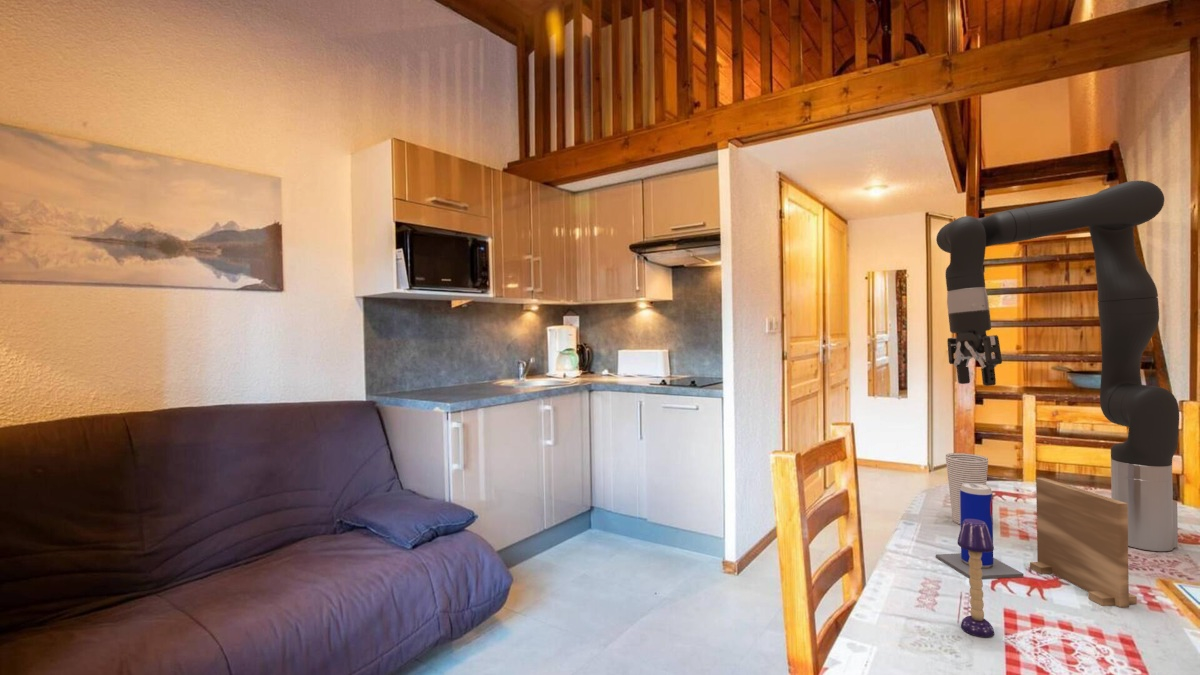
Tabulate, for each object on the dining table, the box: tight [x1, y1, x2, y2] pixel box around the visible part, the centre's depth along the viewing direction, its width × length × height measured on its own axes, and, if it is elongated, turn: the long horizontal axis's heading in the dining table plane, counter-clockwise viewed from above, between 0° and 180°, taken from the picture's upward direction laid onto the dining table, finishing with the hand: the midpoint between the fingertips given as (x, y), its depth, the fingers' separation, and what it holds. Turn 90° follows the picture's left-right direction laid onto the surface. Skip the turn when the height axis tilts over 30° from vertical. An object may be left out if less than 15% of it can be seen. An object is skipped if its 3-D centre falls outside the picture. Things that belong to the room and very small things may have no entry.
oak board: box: [1029, 477, 1138, 608], centre depth 99 cm, size 6×16×17 cm, turn 3°
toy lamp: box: [957, 519, 995, 638], centre depth 85 cm, size 5×5×17 cm
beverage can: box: [960, 483, 994, 568], centre depth 107 cm, size 5×5×15 cm
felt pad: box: [935, 552, 1025, 580], centre depth 107 cm, size 10×10×1 cm
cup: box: [945, 452, 989, 526], centre depth 131 cm, size 8×8×16 cm
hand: (976, 384), depth 120 cm, fingers open, 8 cm apart
